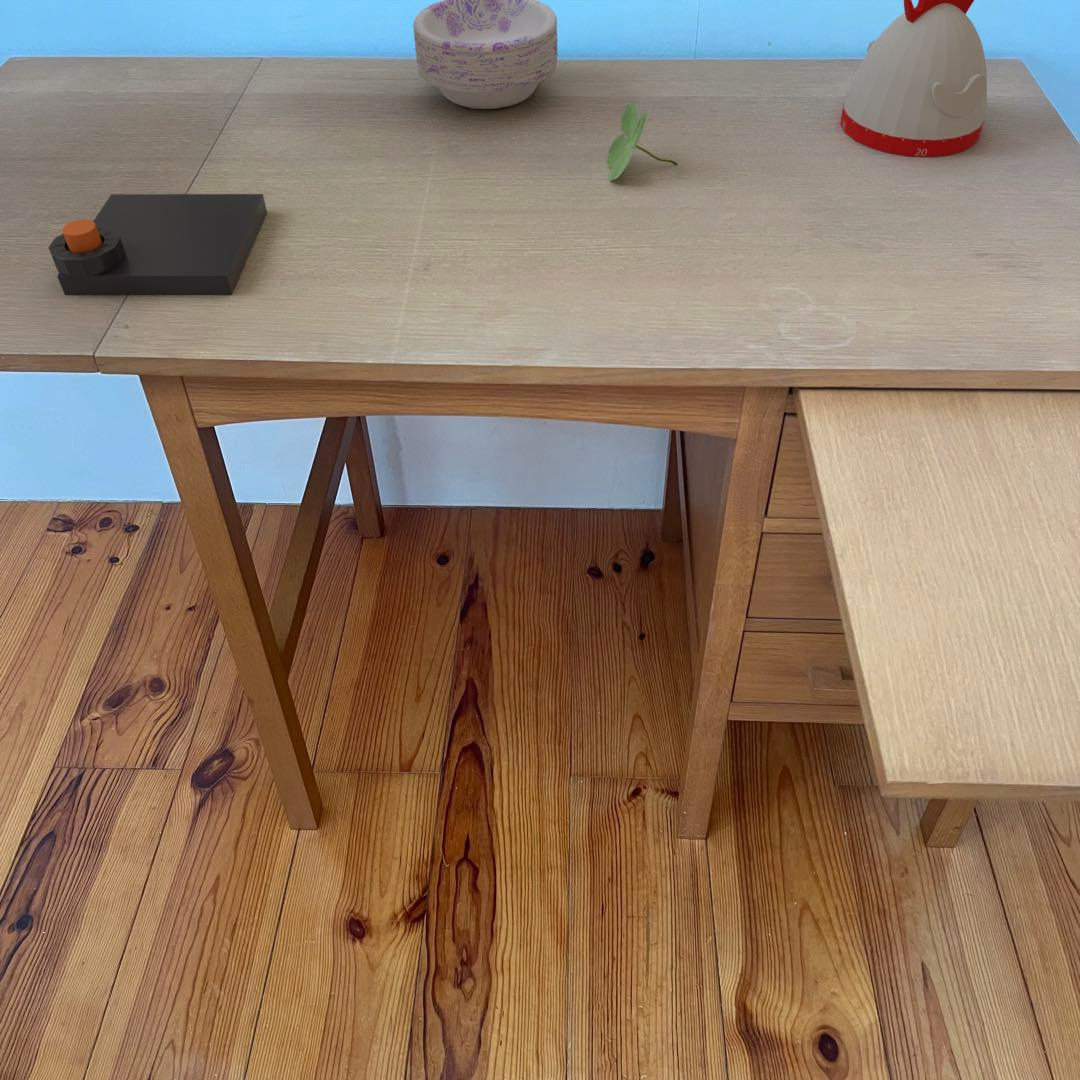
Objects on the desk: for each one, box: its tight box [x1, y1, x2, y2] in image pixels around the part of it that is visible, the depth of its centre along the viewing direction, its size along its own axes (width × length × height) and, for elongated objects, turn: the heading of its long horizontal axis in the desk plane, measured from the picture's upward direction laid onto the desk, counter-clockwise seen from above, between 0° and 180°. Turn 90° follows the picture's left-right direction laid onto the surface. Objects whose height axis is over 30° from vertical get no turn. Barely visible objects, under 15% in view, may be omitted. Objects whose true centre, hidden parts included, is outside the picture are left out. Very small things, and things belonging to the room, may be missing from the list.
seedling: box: [606, 101, 678, 181], centre depth 97 cm, size 7×8×7 cm
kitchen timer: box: [840, 0, 988, 158], centre depth 98 cm, size 14×14×15 cm
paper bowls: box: [412, 0, 559, 110], centre depth 108 cm, size 15×15×8 cm
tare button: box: [61, 218, 102, 253], centre depth 82 cm, size 3×3×2 cm
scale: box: [48, 193, 268, 296], centre depth 87 cm, size 15×14×4 cm
